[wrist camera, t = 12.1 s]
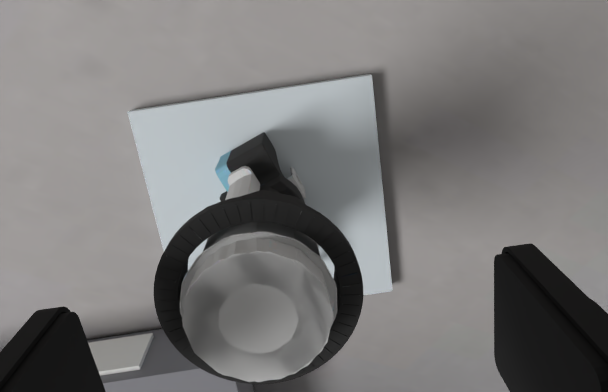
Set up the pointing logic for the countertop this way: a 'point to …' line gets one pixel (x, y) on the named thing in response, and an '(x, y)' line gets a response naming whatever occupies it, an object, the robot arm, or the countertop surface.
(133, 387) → the power strip
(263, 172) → the push button
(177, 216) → the pale blue mat
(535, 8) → the countertop surface
